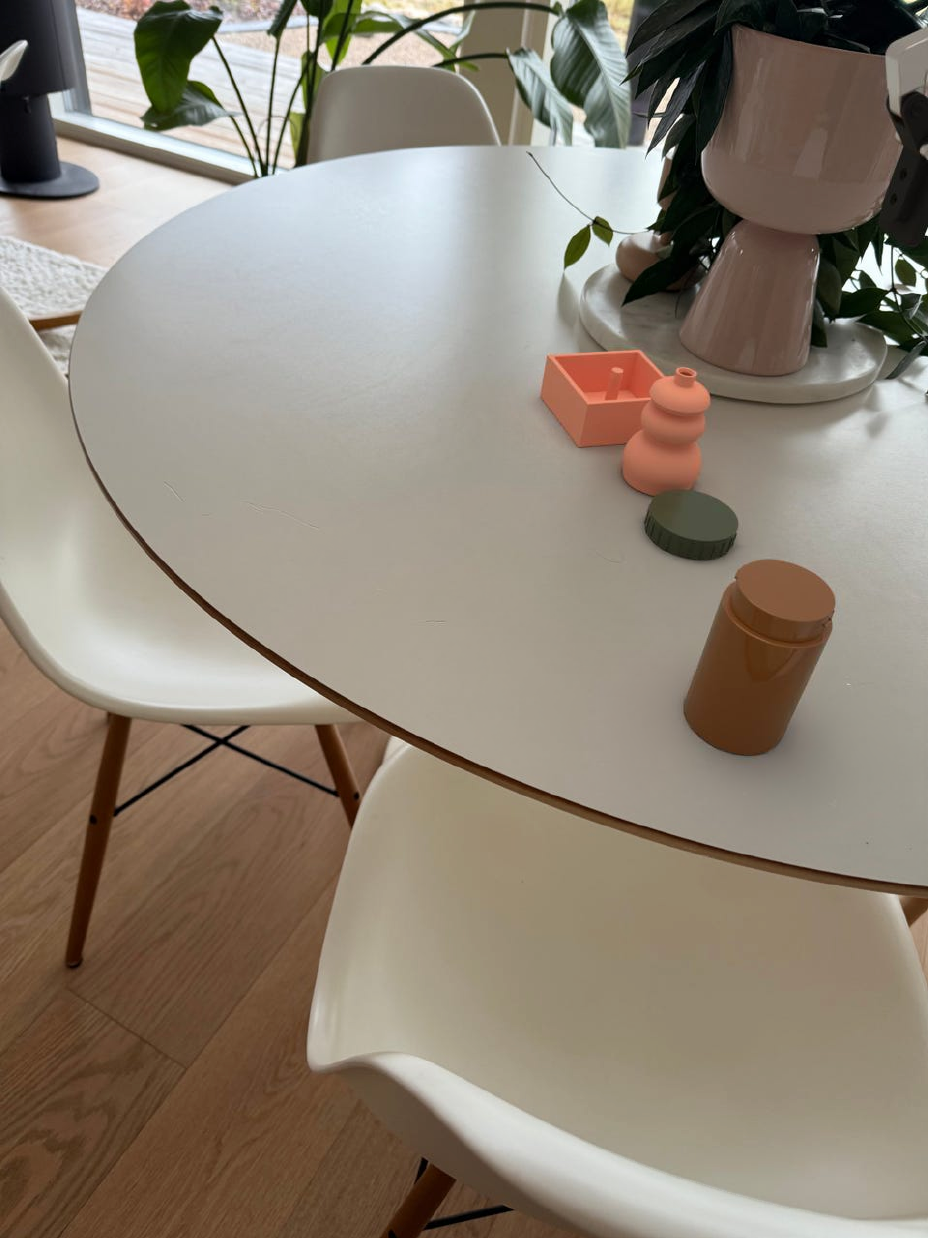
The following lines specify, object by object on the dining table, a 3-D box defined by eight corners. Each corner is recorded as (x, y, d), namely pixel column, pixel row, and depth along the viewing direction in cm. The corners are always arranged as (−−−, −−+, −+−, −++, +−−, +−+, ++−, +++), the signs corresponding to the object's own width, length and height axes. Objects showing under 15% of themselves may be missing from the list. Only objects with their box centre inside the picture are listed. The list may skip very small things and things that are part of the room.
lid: (625, 525, 79) (630, 506, 78) (680, 497, 83) (685, 479, 82) (696, 571, 75) (703, 552, 74) (750, 540, 79) (757, 521, 78)
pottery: (539, 396, 94) (558, 294, 87) (630, 390, 97) (654, 291, 90) (622, 505, 81) (650, 396, 75) (723, 494, 84) (758, 388, 78)
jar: (792, 706, 65) (851, 579, 58) (771, 771, 61) (832, 641, 54) (699, 669, 67) (745, 541, 60) (670, 729, 63) (717, 598, 56)
